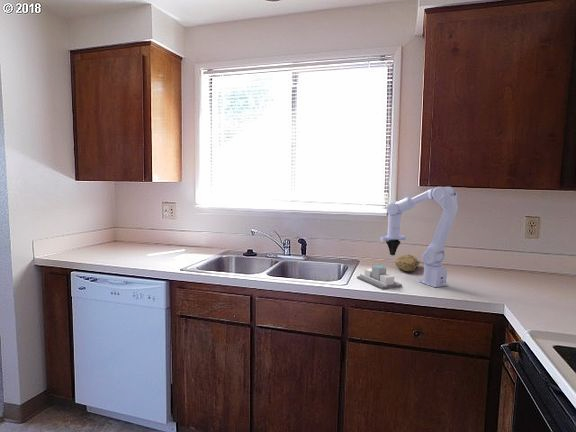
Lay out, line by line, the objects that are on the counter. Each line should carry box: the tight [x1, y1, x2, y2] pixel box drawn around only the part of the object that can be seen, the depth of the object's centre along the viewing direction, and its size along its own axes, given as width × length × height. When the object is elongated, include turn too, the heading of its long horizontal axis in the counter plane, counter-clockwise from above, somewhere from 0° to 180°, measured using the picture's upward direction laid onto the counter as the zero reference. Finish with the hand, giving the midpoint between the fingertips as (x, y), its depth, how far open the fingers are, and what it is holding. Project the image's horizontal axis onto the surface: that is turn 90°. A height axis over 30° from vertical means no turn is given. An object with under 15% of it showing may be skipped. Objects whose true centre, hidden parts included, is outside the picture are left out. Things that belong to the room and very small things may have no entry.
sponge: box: [394, 254, 421, 272], centre depth 193 cm, size 13×8×20 cm
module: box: [371, 265, 387, 281], centre depth 167 cm, size 5×4×6 cm
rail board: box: [356, 267, 403, 290], centre depth 167 cm, size 18×11×4 cm, turn 25°
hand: (392, 254), depth 182 cm, fingers closed
